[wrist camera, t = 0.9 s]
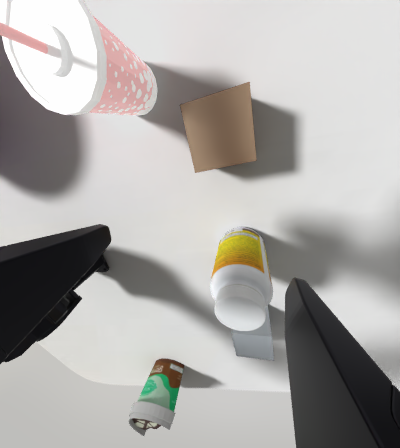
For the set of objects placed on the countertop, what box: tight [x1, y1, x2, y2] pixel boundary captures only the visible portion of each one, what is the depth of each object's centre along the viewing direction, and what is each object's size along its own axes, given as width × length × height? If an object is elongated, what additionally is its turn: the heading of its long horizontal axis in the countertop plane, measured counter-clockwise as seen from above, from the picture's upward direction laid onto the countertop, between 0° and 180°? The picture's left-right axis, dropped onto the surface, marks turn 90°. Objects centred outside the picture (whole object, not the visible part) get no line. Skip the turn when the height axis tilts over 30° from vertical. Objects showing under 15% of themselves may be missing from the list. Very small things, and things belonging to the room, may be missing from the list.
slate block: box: [231, 306, 274, 361], centre depth 26 cm, size 5×5×5 cm
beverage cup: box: [0, 0, 158, 116], centre depth 11 cm, size 6×6×14 cm
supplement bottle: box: [210, 227, 273, 331], centre depth 18 cm, size 6×6×10 cm
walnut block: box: [180, 82, 256, 173], centre depth 15 cm, size 5×5×5 cm
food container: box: [129, 359, 184, 436], centre depth 37 cm, size 12×6×10 cm, turn 146°
